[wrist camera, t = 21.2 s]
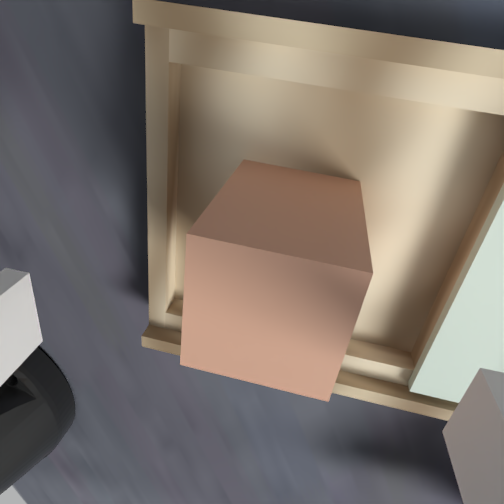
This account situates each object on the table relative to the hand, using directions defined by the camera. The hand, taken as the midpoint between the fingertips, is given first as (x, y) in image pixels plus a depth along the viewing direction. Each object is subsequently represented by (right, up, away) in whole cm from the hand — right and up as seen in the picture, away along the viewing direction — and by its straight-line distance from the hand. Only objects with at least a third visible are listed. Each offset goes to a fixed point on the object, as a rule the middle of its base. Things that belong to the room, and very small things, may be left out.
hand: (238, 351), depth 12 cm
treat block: (+2, +4, +8) cm, 9 cm away
